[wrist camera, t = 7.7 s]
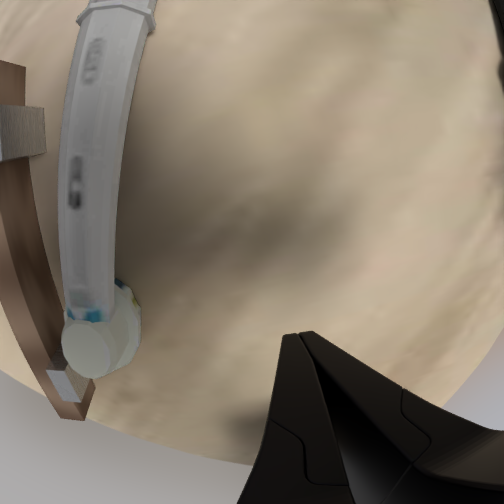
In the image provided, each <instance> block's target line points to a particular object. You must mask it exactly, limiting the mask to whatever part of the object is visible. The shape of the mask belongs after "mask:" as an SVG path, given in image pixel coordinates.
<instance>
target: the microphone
mask: <svg viewBox="0 0 504 504" xmlns="http://www.w3.org/2000/svg"><path fill="white" fill-rule="evenodd" d="M493 1H494V3H495V6H496V9H497V11H498V14H499V17H500V20H501V23H502V26H503V30H504V0H493Z"/></svg>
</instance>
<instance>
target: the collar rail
mask: <svg viewBox="0 0 504 504" xmlns="http://www.w3.org/2000/svg"><path fill="white" fill-rule="evenodd" d="M25 70H26V67H24V66H20V65H16V64H13V63H9V62H5V61H2V60H0V301H1V304H2V307H3V309H4V312H5V314H6V317H7V319H8V321H9V324H10V326H11V328H12V331H13V333H14V335H15V337H16V340H17V342H18V344H19V346H20V348H21V350H22V352H23V354H24V356H25V358H26V360H27V362H28V364H29V366H30V368H31V370H32V371H33V373H34V375H35V377H36V379H37V380H38V382H39V384H40V386H41V387H42V389H43V391H44V393H45V394H46V396H47V398H48V399H49V401H50V402H51V404H52V406H53V407H54V409H55V410H56V412H57V413H58V415H59V416H60V418H64V419H71V420H80V421H84V420H85V418H86V415H87V412H88V409H89V406H90V403H91V400H92V397H93V394H94V391H95V386H94V384H93V382H92V380H91V378H86V377H83V376H81V375H80V374H79V373H77V372H76V371H75V370H73V369H72V368H71V366H70V365H69V363H68V361H67V360H66V358H65V357H64V354H63V348H62V343H61V334H62V331H63V328H64V325H65V319H64V312H63V310H62V307H61V304H60V301H59V298H58V295H57V292H56V289H55V285H54V282H53V279H52V275H51V272H50V268H49V265H48V261H47V257H46V254H45V250H44V246H43V242H42V237H41V233H40V228H39V224H38V219H37V214H36V209H35V203H34V197H33V191H32V184H31V177H30V170H29V161H28V157H31V156H34V155H38V154H41V153H45V152H46V143H45V130H44V108H38V107H28V106H25Z"/></svg>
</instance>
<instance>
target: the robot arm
mask: <svg viewBox="0 0 504 504" xmlns="http://www.w3.org/2000/svg"><path fill="white" fill-rule="evenodd" d="M237 504H504V431H500V430H493V429H489V428H486V427H483V426H480V425H478V424H475V423H473V422H471V421H469V420H466V419H464V418H462V417H459V416H457V415H455V414H452V413H450V412H448V411H446V410H444V409H442V408H440V407H437V406H435V405H433V404H431V403H429V402H428V401H426V400H424V399H422V398H420V397H419V396H417V395H415V394H413V393H412V392H410V391H408V390H407V389H405V388H403V389H402V386H400V385H398V384H397V383H395V382H393V381H392V380H390V379H388V378H387V377H385V376H383V375H382V374H380V373H379V372H377V371H375V370H374V369H372V368H371V367H369V366H367V365H366V364H364V363H363V362H361V361H359V360H358V359H356V358H355V357H353V356H351V355H350V354H348V353H347V352H345V351H343V350H342V349H340V348H339V347H337V346H336V345H334V344H333V343H331V342H329V341H328V340H326V339H325V338H323V337H322V336H320V335H319V334H317V333H315V332H314V331H306V332H300V333H299V334H297V333H292V334H285V335H283V337H282V342H281V348H280V354H279V359H278V365H277V370H276V376H275V381H274V386H273V392H272V397H271V402H270V407H269V412H268V417H267V421H266V426H265V430H264V435H263V439H262V442H261V446H260V450H259V452H258V455H257V458H256V460H255V463H254V466H253V468H252V471H251V473H250V475H249V477H248V480H247V482H246V484H245V486H244V489H243V491H242V493H241V495H240V498H239V500H238V502H237Z"/></svg>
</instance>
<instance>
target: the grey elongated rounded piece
mask: <svg viewBox="0 0 504 504" xmlns="http://www.w3.org/2000/svg"><path fill="white" fill-rule="evenodd" d="M156 2H157V0H90V1H89V4H88V6H87V8H86V9H85V10H84V11H83V12H82V13H81V14H80V15H79V16H78V17H77V20H76V22H77V23H78V25H79V26H80V30H79V34H78V38H77V42H76V46H75V50H74V54H73V59H72V63H71V68H70V73H69V79H68V84H67V90H66V96H65V103H64V110H63V118H62V127H61V137H60V149H59V166H58V232H59V249H60V261H61V272H62V281H63V289H64V296H65V303H66V307H65V310H64V319H65V325H64V328H63V331H62V334H61V343H62V348H63V354H64V357H65V358H66V360H67V361H68V363H69V365H70V366H71V368H72V369H73V370H75V371H76V372H77V373H79V374H80V375H81V376H83V377H86V378H91V379H98V378H100V377H102V376H105V375H107V374H109V373H111V372H112V371H113V370H114V371H115V370H117V369H119V368H121V367H123V366H125V365H127V364H129V363H130V362H131V360H132V358H133V357H134V355H135V353H136V351H137V349H138V347H139V345H140V342H141V329H140V327H141V306H138V304H137V302H136V300H135V298H134V296H133V293H132V291H131V289H130V288H129V287H127V286H126V285H125V284H123V283H122V282H121V281H119V280H118V279H117V278H114V262H115V233H116V216H117V202H118V191H119V181H120V171H121V163H122V155H123V148H124V141H125V134H126V128H127V122H128V116H129V111H130V105H131V100H132V95H133V90H134V86H135V81H136V76H137V72H138V68H139V64H140V60H141V56H142V52H143V48H144V44H145V41H146V37H147V33H149V32H150V31H152V30H154V29H155V27H156V22H155V19H154V16H153V12H154V9H155V5H156Z"/></svg>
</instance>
